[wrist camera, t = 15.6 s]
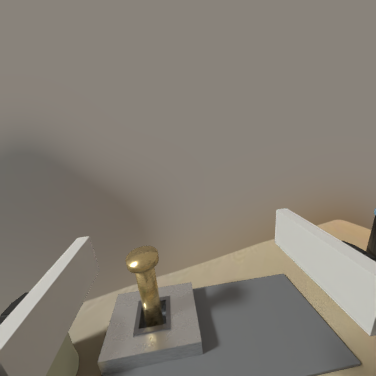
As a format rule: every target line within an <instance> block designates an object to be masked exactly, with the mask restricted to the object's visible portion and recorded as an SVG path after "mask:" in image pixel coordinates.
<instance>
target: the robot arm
mask: <svg viewBox="0 0 376 376" xmlns="http://www.w3.org/2000/svg"><path fill="white" fill-rule="evenodd" d="M374 214H375V218H374V222H373V226H372V230H371V234H370V237H369V241H368V246H367V250H366V251H364V250H362V249H360V248H359V247H357V246H355V245H353V244H350V243H347V242H345V241H340V240H339V239H337V238H335V237H334V236H332V235H330V234H329V233H327V232H325V231H324V230H322V229H320V228H319V227H317V226H315V225H314V224H312V223H310V222H309V221H307V220H305V219H303V218H302V217H300V216H299V215H297V214H295V213H294V212H292V211H290V210H289V209H287V208H285V209H277V211H276V229H275V243H276V244H277V245H278V246H279V247H280V248H281V249H282V250H283V251H284V252H285V253H286V254H287V255H288V256H289V257H290V258H291V259H292V260H293V261H294V262H295V263H296V264H297V265H298V266H299V267H300V268H301V269H302V270H303V271H304V272H305V273H306V274H307V275H308V276H309V277H310V278H311V279H312V280H313V281H314V282H315V283H316V284H318V285H319V286H320V287H321V288H322V289H323V290H324V291H325V292H326V293H327V294H328V295H329V296H330V297H331V298H332V299H333V300H334V301H335V302H336V303H337V304H338V305H339V306H340V307H341V308H342V309H343V310H344V311H345V312H346V313H347V314H348V315H349V316H350V317H351V318H352V319H353V320H354V321H355V322H356V323H357V324H358V325H359V326H360V327H361V328H362V329H363V330H364V331H365V332H366V333H367V334H368V335H369V336H373V335H376V209H375V210H374ZM98 272H99V266H98V263H97V260H96V256H95V253H94V250H93V246H92V243H91V240H90V237H89V236H88V237H81V238H77V239H76V240H75V241H74V242H73V244H72V245H71V246H70V247H69V248H68V249H67V250H66V251H65V253H64V254H63V255H62V256H61V257H60V258H59V259H58V261H57V262H56V263H55V264H54V265H53V266H52V267H51V268H50V269H49V271H48V272H47V273H46V274H45V275H44V276H43V277H42V278H41V280H40V281H39V282H38V283H37V284H36V285H35V286H34V287H33V289H32V290H31V291H30V292H28V293H24V294H23V295H22V296H21V297H19V298H18V299H17V300H15V301H14V302H13V303H11V305H10V306H9V307H8V308H7V309H6V310H5V311H4V312H3V313H2V314H1V316H0V376H46V374H47V372H48V370H49V368H50V366H51V364H52V362H53V361H54V359H55V357H56V355H57V353H58V351H59V349H60V347H61V345H62V343H63V341H64V339H65V337H66V335H67V333H68V331H69V329H70V327H71V325H72V323H73V321H74V319H75V317H76V315H77V313H78V311H79V309H80V308H81V306H82V304H83V302H84V299H85V298H86V296H87V294H88V292H89V290H90V288H91V286H92V284H93V282H94V280H95V278H96V276H97V274H98Z"/></svg>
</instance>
